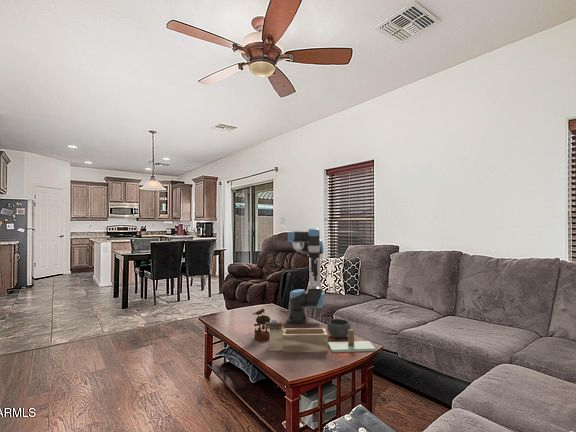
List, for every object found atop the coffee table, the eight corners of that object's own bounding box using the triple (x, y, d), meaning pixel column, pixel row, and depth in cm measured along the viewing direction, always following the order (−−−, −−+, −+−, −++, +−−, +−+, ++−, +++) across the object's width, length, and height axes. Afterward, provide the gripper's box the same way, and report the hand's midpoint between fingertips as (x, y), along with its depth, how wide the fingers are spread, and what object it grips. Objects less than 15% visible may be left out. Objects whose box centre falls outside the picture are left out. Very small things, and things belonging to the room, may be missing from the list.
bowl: (353, 335, 214) (353, 320, 214) (345, 342, 201) (345, 326, 201) (333, 331, 221) (332, 317, 222) (324, 338, 209) (324, 322, 209)
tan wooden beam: (265, 327, 193) (265, 322, 193) (281, 327, 193) (281, 322, 193) (265, 328, 191) (265, 323, 191) (281, 328, 191) (281, 323, 191)
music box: (260, 344, 199) (258, 311, 201) (249, 341, 207) (247, 309, 208) (277, 337, 210) (275, 306, 212) (266, 335, 218) (265, 305, 219)
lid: (327, 345, 197) (327, 327, 198) (369, 344, 199) (368, 326, 200) (331, 353, 186) (331, 334, 186) (375, 351, 187) (375, 332, 188)
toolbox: (270, 344, 198) (270, 318, 198) (325, 344, 198) (324, 317, 199) (269, 352, 186) (269, 324, 186) (327, 352, 186) (327, 323, 187)
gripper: (307, 250, 226) (307, 280, 225) (310, 253, 201) (310, 287, 200) (317, 250, 226) (318, 280, 225) (321, 253, 201) (322, 287, 200)
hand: (314, 283), depth 213 cm, fingers open, 13 cm apart
